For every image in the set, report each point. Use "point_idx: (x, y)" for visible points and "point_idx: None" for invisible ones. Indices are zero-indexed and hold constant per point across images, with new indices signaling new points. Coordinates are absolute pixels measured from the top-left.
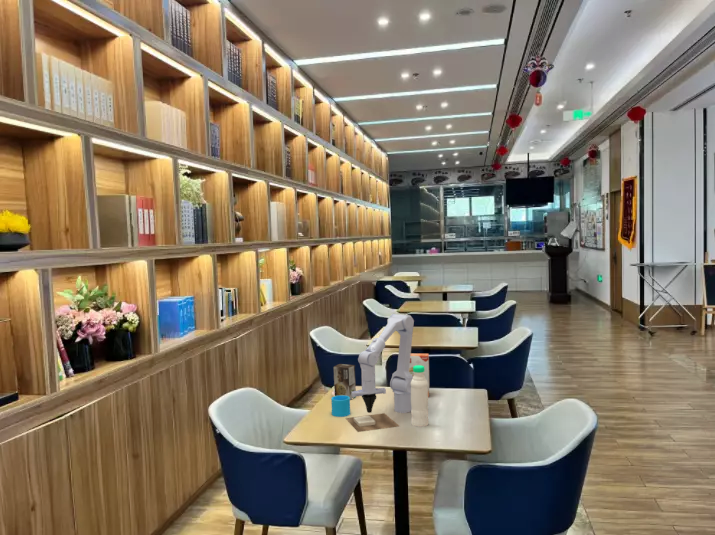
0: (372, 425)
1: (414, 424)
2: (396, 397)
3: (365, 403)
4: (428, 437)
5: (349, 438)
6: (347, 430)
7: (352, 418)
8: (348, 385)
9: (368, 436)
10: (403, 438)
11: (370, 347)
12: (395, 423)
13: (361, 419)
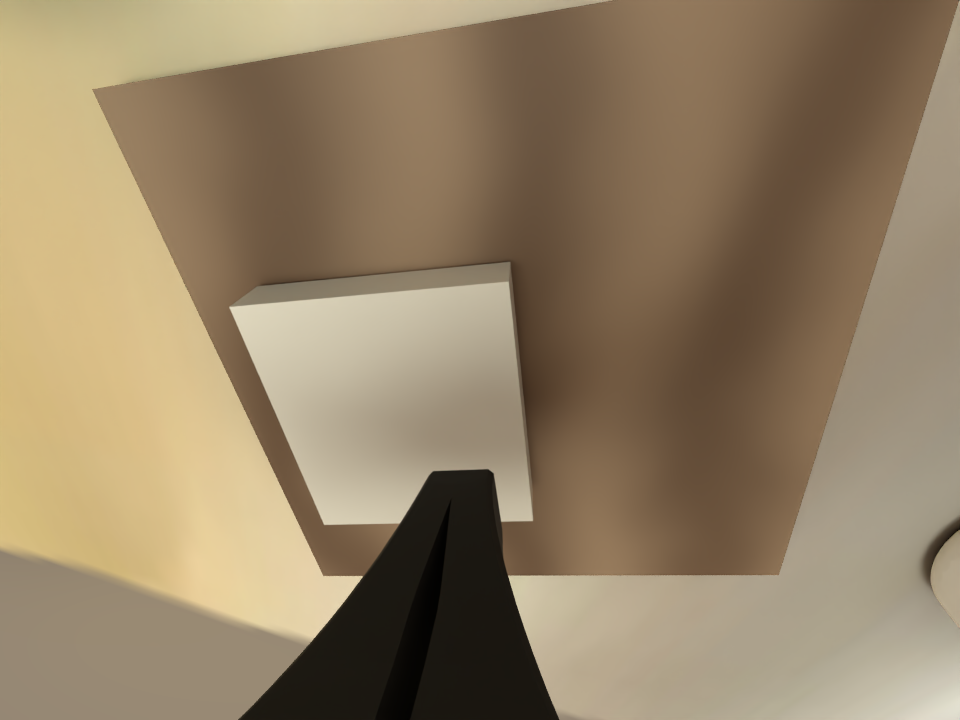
0: None
1: (950, 613)
2: None
3: (351, 625)
4: (858, 716)
5: (266, 593)
6: (226, 455)
7: (228, 144)
8: None
9: None
10: (670, 685)
11: None
12: (787, 505)
13: (357, 420)
